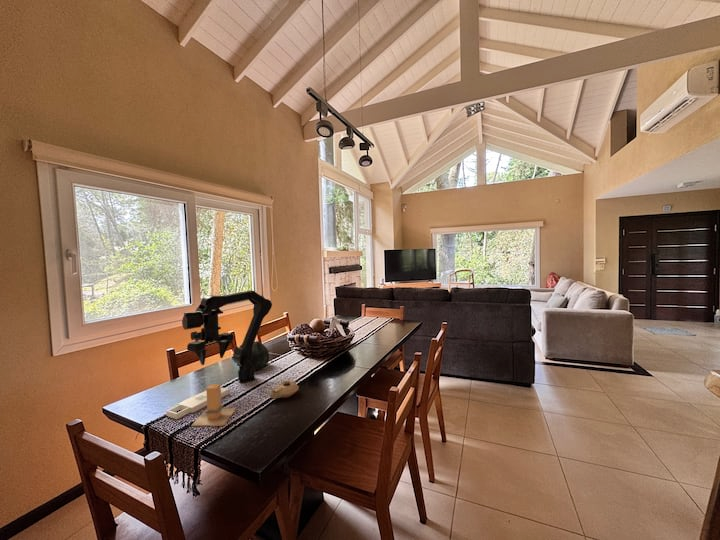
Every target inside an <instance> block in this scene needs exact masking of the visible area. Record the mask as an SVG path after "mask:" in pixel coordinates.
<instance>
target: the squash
mask: <svg viewBox="0 0 720 540" xmlns="http://www.w3.org/2000/svg"><path fill="white" fill-rule="evenodd" d="M252 350H253V355H252V360H254V361H255V362H257V364H256V367H255V368H254V370H262V369H263V368H265V367H267V365H268V363H269V362H270V353H269V350H268V348H267V346H266V345H265V344H263V343H262V342H261V341H258V340H257V341H254V344H253V347H252Z"/></svg>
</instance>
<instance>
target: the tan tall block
mask: <svg viewBox="0 0 720 540" xmlns="http://www.w3.org/2000/svg"><path fill="white" fill-rule="evenodd" d="M221 385H222V384H221V383H215V384H214V383H211V384H209V386H207V387H206V390H205V391H207V406H206V409H207V410H206V409H205V410H206V411H205V410H204V411H205V414H207V416H208V419H218V418H219V416H220V415H221V414H222V410H221V409H222V408H224V404H222V398H221Z"/></svg>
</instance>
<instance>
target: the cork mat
mask: <svg viewBox="0 0 720 540" xmlns="http://www.w3.org/2000/svg"><path fill="white" fill-rule="evenodd" d="M206 410H207V408H206V409H205V410H204V411H203V412H202V413H201V414H200V415H199V417H198V418H196V420H195V421H194V422H193V423H192V424H191V425H190V427H191V428H192V427H193V428H194V427H216V426H217V427H218V426H219V427H221V426H225V425H226V424H227V423H228V421H229V419H231V417H232V416H233V414H234V413H235V412H236V410H237V407H226V408H224V407H223V408H222V409H221V410H222V414H221V415H220V416H219V418H218V419H208V416H207V414H205V411H206Z"/></svg>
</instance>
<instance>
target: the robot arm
mask: <svg viewBox="0 0 720 540" xmlns="http://www.w3.org/2000/svg"><path fill="white" fill-rule="evenodd" d="M243 301H249V302H250V303H251V304H252V305H253V308H252V309H253V311H252V312H253V316H252V318H251V321H250V322H249V323H250V324H249V326H248V328H247V330H246V333H245V336H244V338H243V340H242V343H241V345H240V346H236V347H235V349H234V352H233V353H232V361H233V362H234V363H235V364H236V366H237V367H238V370H237V379H238V381H239V383H240V384H243V383H242V382H244V383H249V382H253V380H254V381H256V378H255V369H254V368H255V367H256V364H257V362H255V361H254V360H252V355H253V350H252V347H253V344H254V342H256V341H255V340H256V338H257V336H258V333H259V330H260V328H261V325H262V323H263V321H264V318H265V317H266V316H267V315H268V314H269V313H270V311H271V309H272V307H273V303H272V301H271V299H268V298H265V297H264V296H262V295H260V294H258V293H257V292H256V291H255V290H252V289H251V290H250V289H249V290H246V291H240V292H234V293H229V294H224V295H216V294H215V295H213V294H212V295H204V296H203V297H202V298H201V300H200V304H199V305H198V306H197V307H196V310H195V311H191V312H189V311H186V312H183V316H182V320H181V324H182V328H183V330H185V331H187V330H191V329H193V330H194V329H197V328H201V327H202V326H203V327H202V328H201V330H200V331H199V332H198V331H192V332H190V340H191V341H190V342H188V343H187V346H186V347H187V348H186V349H187V351H190V352H192V353H195V354H196V356H197V358H198V361H199V363H200V364H201V366H204V365H205V362H206V352H207V349H206V346H209V345H211V344H214V343H217V344H218V348H219V349H218V350H219V358H220V359H222V358H224V356H225V353H226V352H227V349H228V347H229V345H230V344H231V343H232V341H234V338H235V337H234V335H233V334H232V332H231V333H230V332H223V333H220V331H219V330H222V327H221V326H219V325H220V324H219V315H221V314H224V311H222V310H221V308H222V307H224V306H226V305H229V304H234V303H239V302H243ZM193 340H194V341H193ZM248 381H249V382H248Z"/></svg>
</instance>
